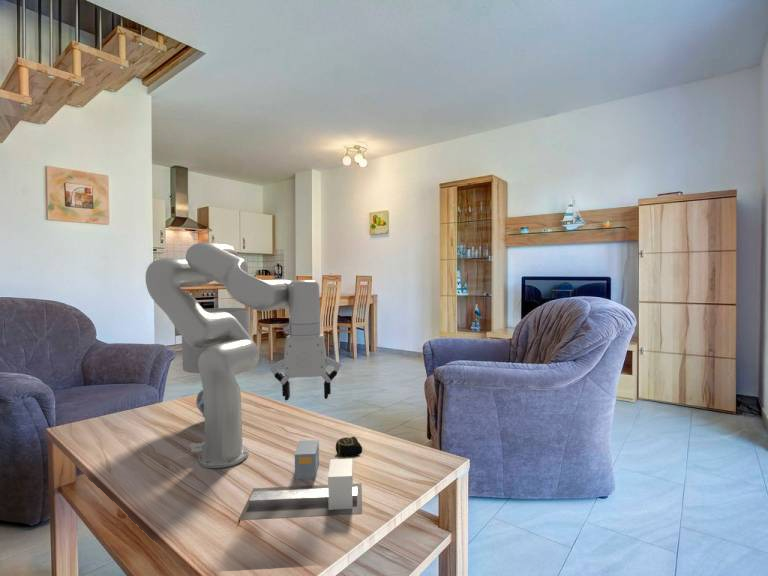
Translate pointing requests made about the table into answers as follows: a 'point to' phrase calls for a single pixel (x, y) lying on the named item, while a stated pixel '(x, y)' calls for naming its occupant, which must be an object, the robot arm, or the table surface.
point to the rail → (292, 497)
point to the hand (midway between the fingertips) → (306, 398)
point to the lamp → (193, 354)
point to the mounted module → (340, 484)
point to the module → (306, 459)
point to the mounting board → (298, 506)
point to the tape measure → (348, 447)
